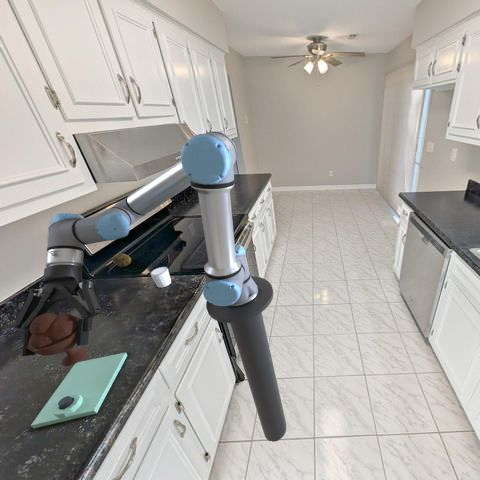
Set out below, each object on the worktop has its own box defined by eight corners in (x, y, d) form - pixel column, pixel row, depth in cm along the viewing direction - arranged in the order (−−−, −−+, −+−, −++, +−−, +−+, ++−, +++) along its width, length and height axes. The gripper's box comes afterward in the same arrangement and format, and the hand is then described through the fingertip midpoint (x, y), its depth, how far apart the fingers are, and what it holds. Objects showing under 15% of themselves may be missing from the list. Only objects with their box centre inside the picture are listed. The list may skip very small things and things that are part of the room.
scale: (127, 355, 81) (123, 348, 79) (96, 413, 65) (91, 406, 64) (78, 365, 78) (73, 359, 77) (33, 428, 63) (26, 422, 61)
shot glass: (152, 287, 113) (146, 274, 110) (164, 278, 119) (159, 265, 115) (163, 289, 111) (158, 276, 108) (176, 280, 117) (171, 267, 113)
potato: (136, 257, 138) (130, 245, 134) (131, 269, 127) (125, 256, 124) (119, 261, 135) (112, 248, 132) (112, 274, 125) (104, 260, 121)
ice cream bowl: (43, 384, 63) (5, 342, 56) (54, 353, 71) (22, 313, 64) (96, 362, 68) (67, 320, 61) (101, 335, 76) (76, 296, 69)
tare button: (75, 398, 66) (72, 394, 66) (69, 407, 64) (66, 404, 63) (65, 400, 66) (61, 397, 65) (58, 410, 64) (55, 406, 63)
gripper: (0, 271, 65) (-16, 363, 59) (102, 256, 69) (97, 341, 63) (28, 276, 72) (16, 359, 66) (119, 263, 76) (116, 339, 70)
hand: (56, 350), depth 64 cm, fingers closed on ice cream bowl, 11 cm apart
